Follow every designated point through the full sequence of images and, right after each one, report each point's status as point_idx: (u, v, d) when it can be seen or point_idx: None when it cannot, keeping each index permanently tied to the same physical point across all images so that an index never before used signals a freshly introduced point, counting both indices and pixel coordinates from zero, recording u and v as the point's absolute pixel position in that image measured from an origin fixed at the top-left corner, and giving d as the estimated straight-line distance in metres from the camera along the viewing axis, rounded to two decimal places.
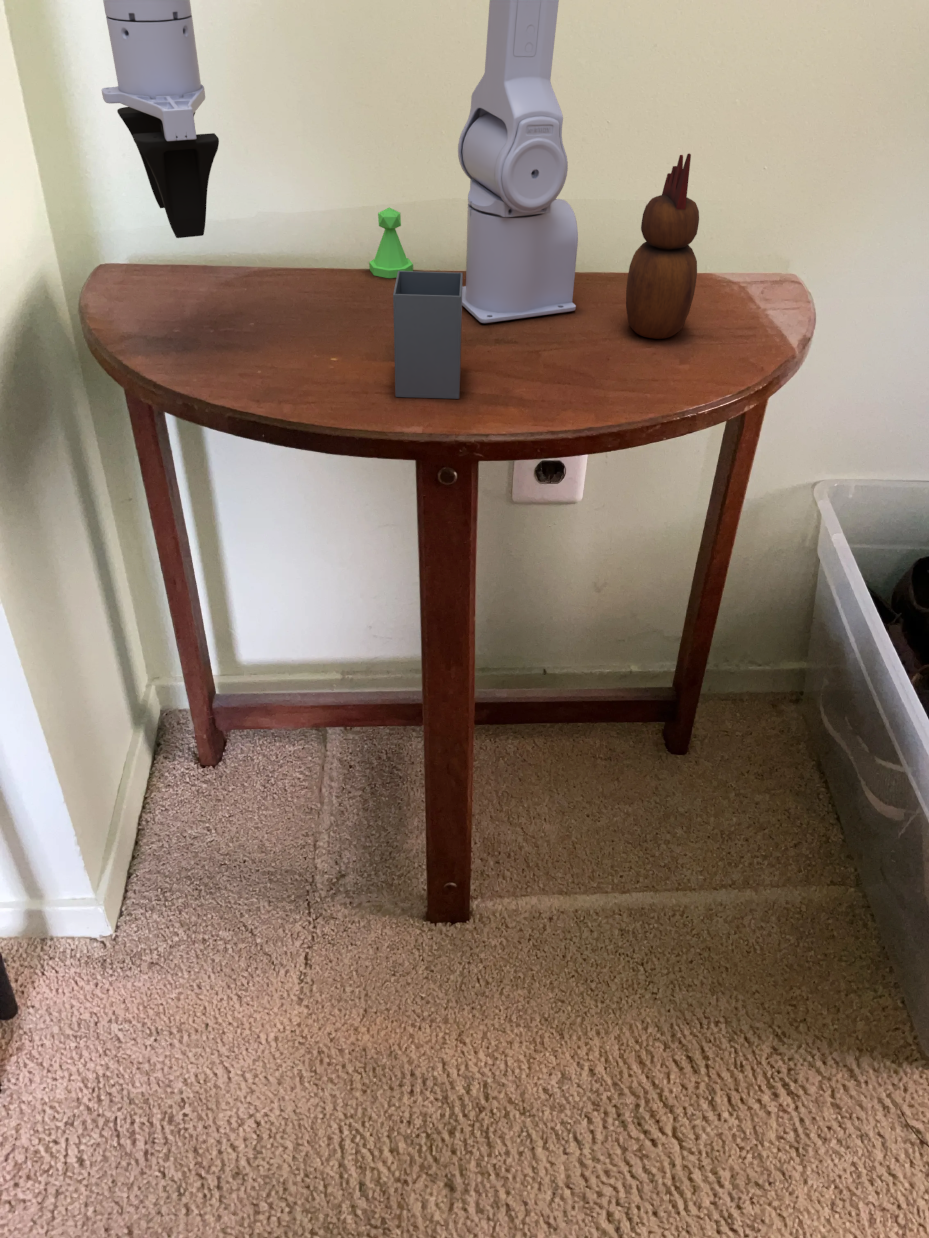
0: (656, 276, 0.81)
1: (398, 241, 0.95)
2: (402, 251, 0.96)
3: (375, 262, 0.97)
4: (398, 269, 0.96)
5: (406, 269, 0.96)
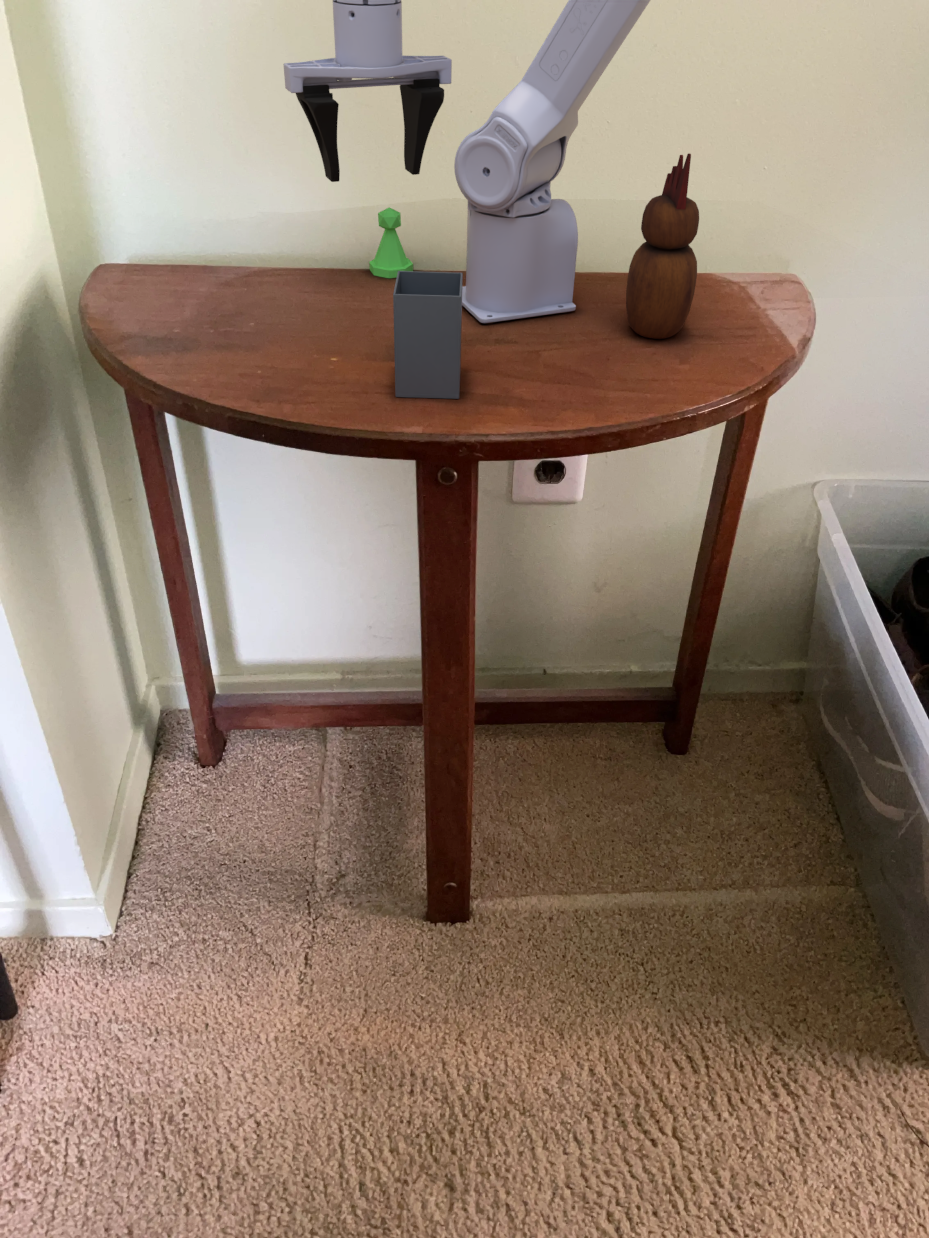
0: (656, 276, 0.81)
1: (398, 241, 0.95)
2: (402, 251, 0.96)
3: (375, 262, 0.97)
4: (398, 269, 0.96)
5: (406, 269, 0.96)
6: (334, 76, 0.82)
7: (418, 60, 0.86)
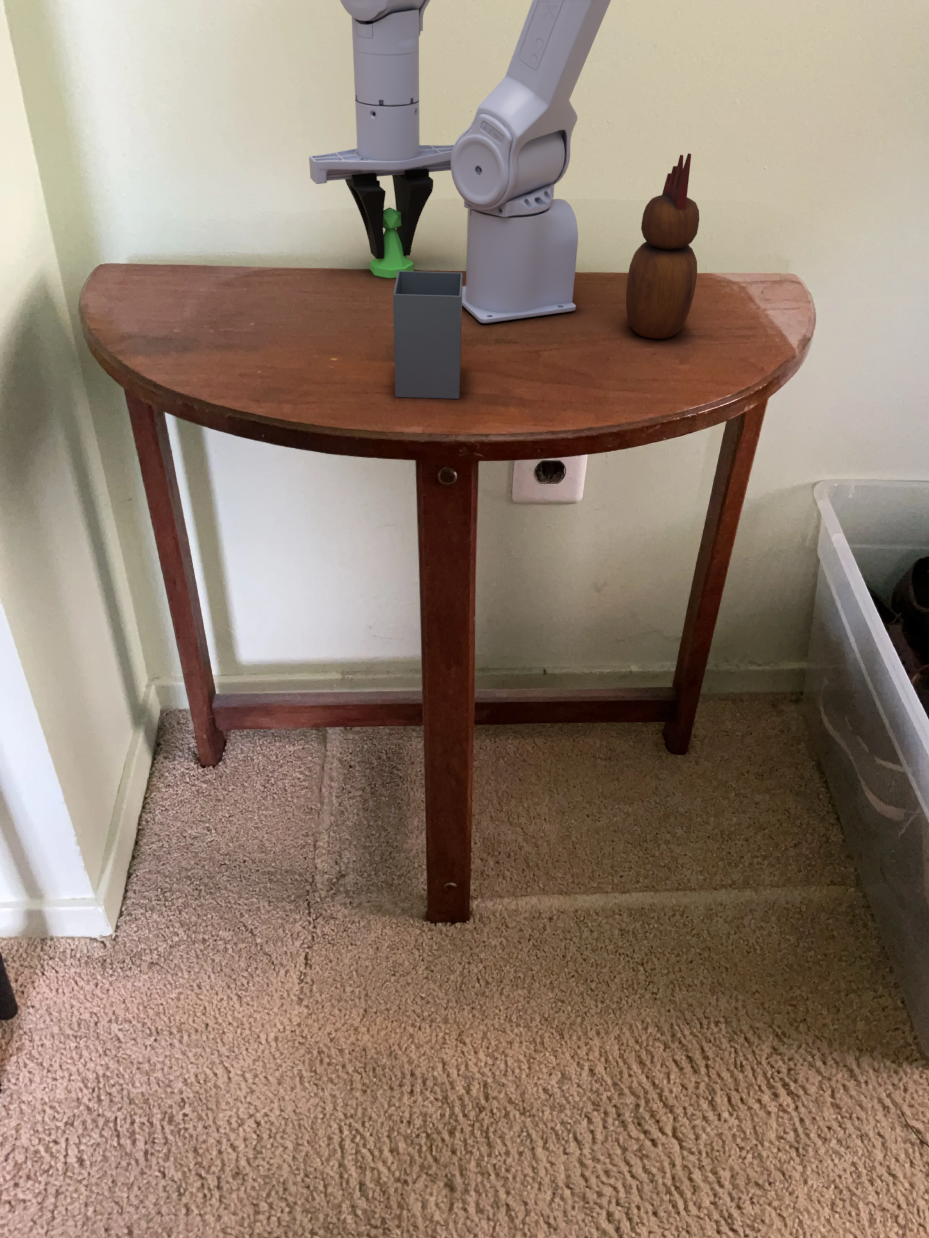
0: (656, 276, 0.81)
1: (398, 241, 0.95)
2: (402, 251, 0.96)
3: (376, 262, 0.97)
4: (399, 269, 0.96)
5: (407, 269, 0.96)
6: (356, 169, 0.89)
7: (434, 150, 0.92)
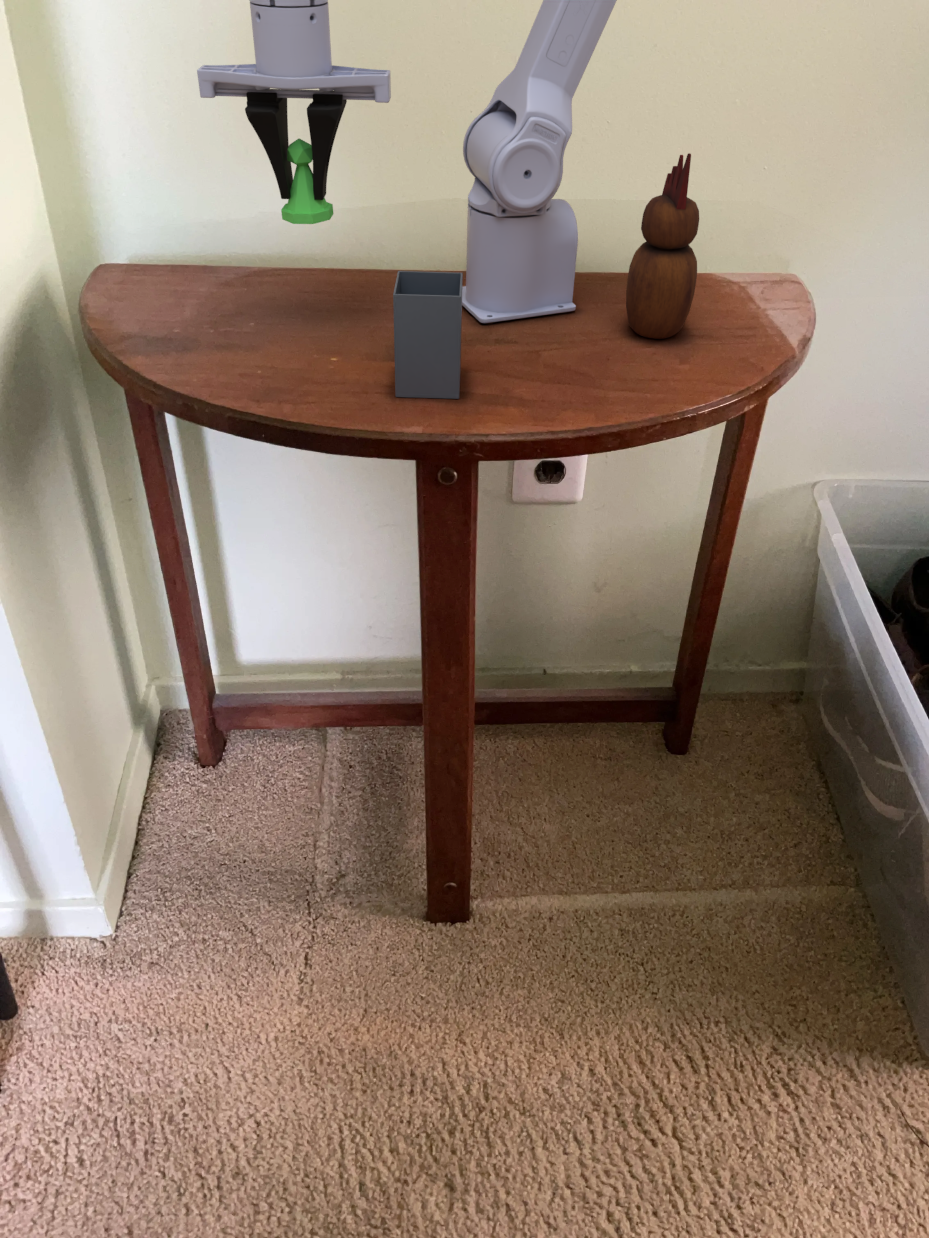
0: (656, 276, 0.81)
1: (310, 181, 0.80)
2: None
3: None
4: (304, 214, 0.80)
5: (315, 215, 0.80)
6: (242, 83, 0.74)
7: (352, 73, 0.75)
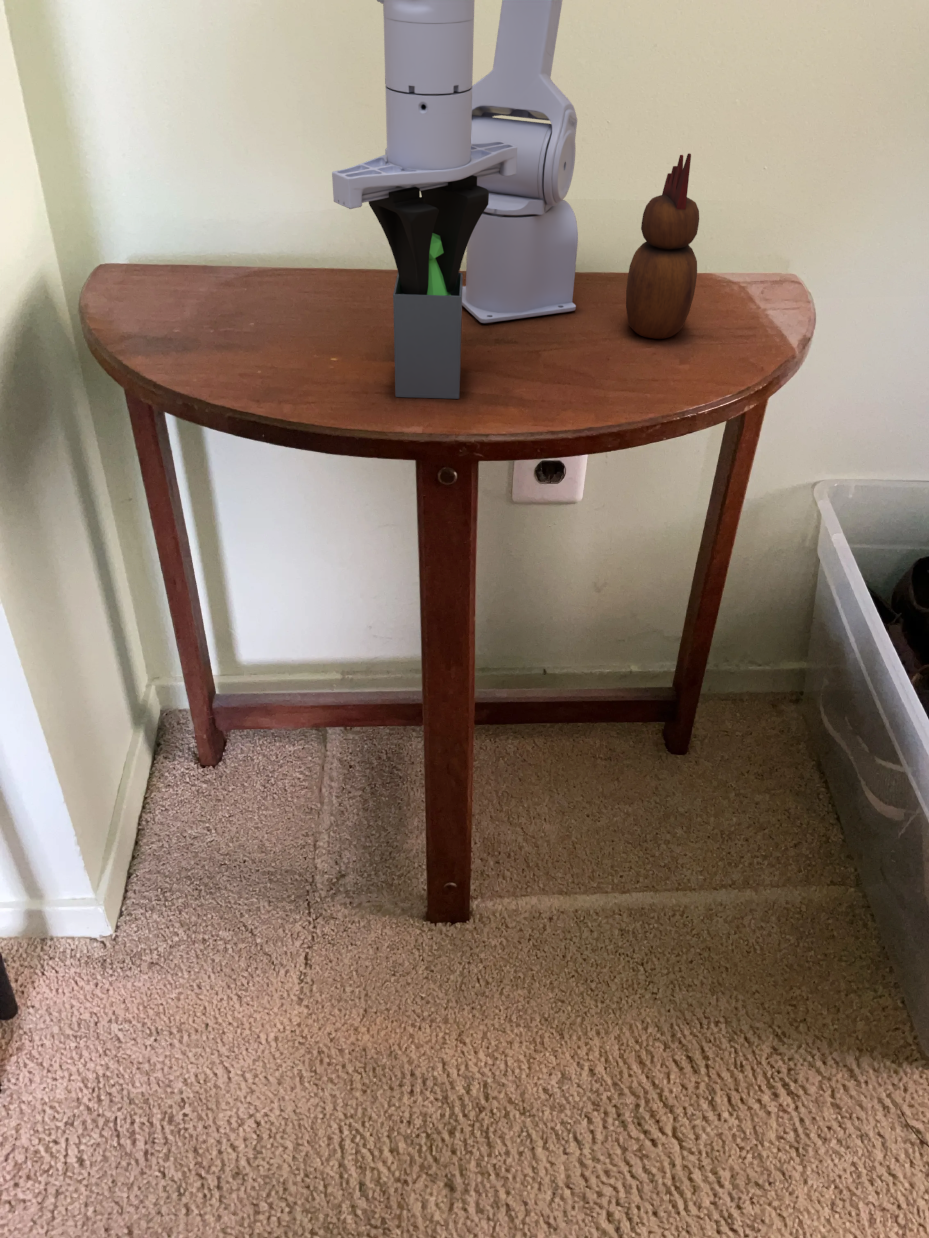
0: (656, 276, 0.81)
1: (440, 273, 0.72)
2: (445, 286, 0.73)
3: None
4: None
5: None
6: (401, 183, 0.65)
7: (480, 151, 0.70)
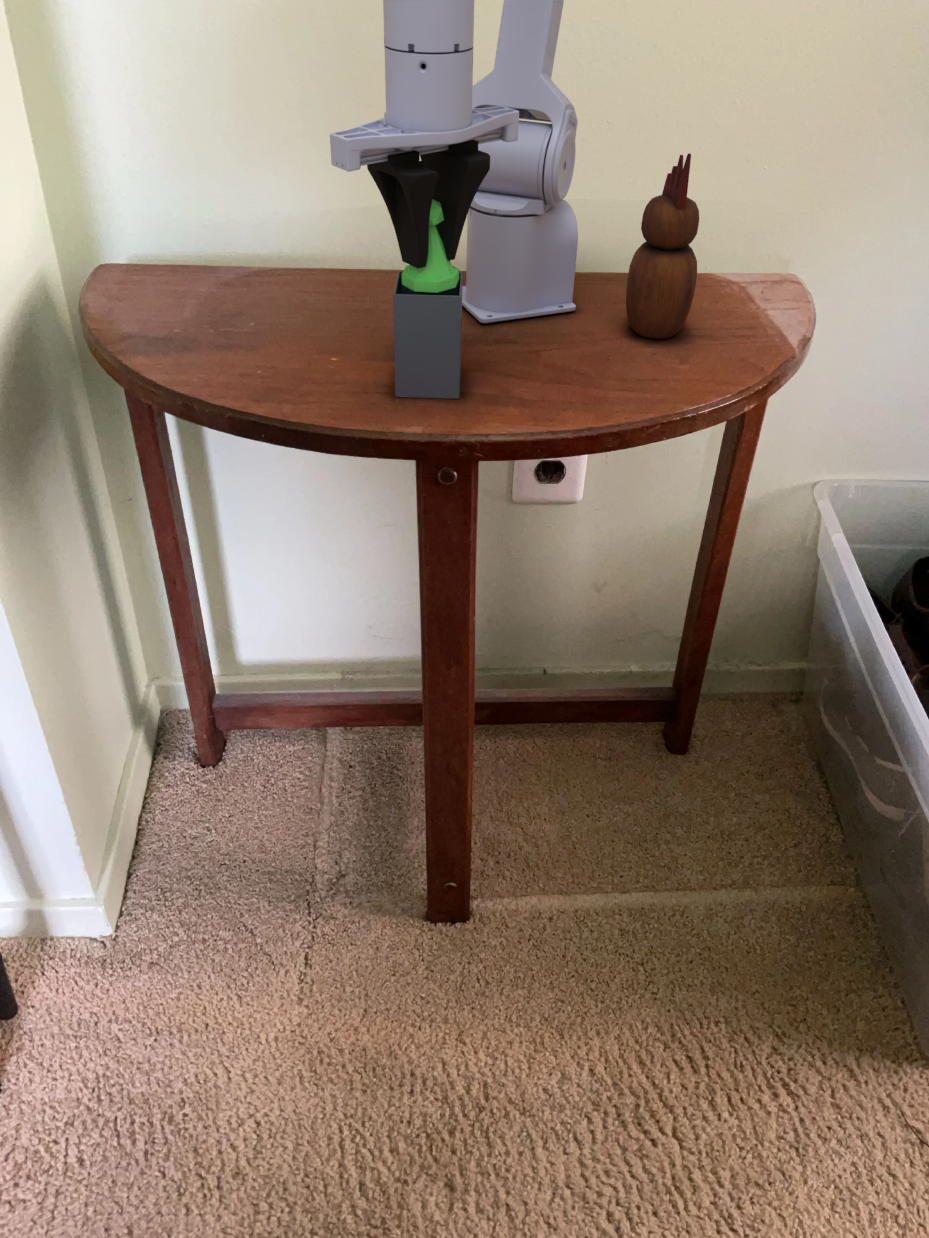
0: (656, 276, 0.81)
1: (440, 241, 0.71)
2: None
3: (412, 273, 0.72)
4: (447, 278, 0.71)
5: (456, 277, 0.72)
6: (401, 145, 0.63)
7: (481, 115, 0.68)
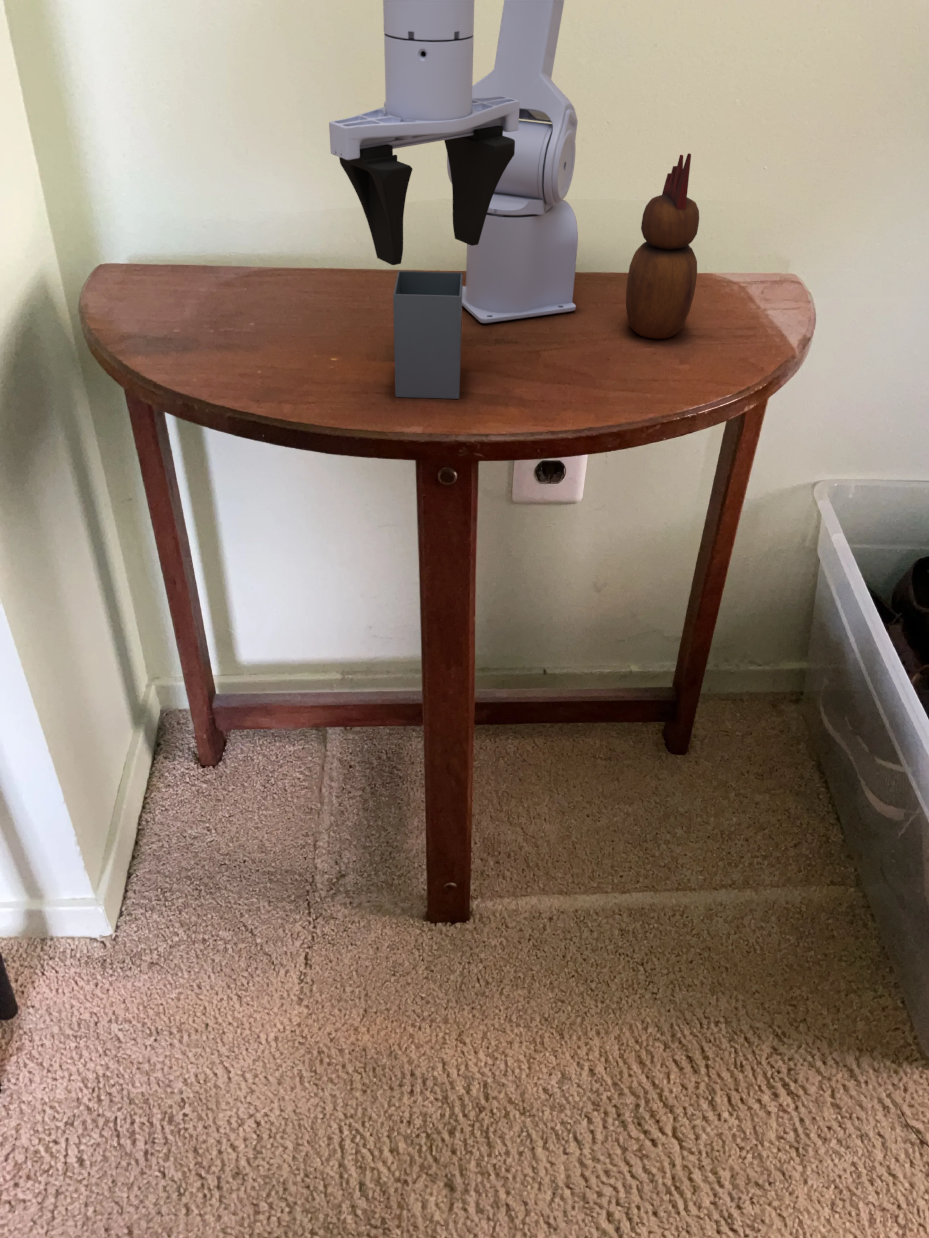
0: (656, 276, 0.81)
1: None
2: None
3: None
4: None
5: None
6: (400, 134, 0.63)
7: (482, 104, 0.68)
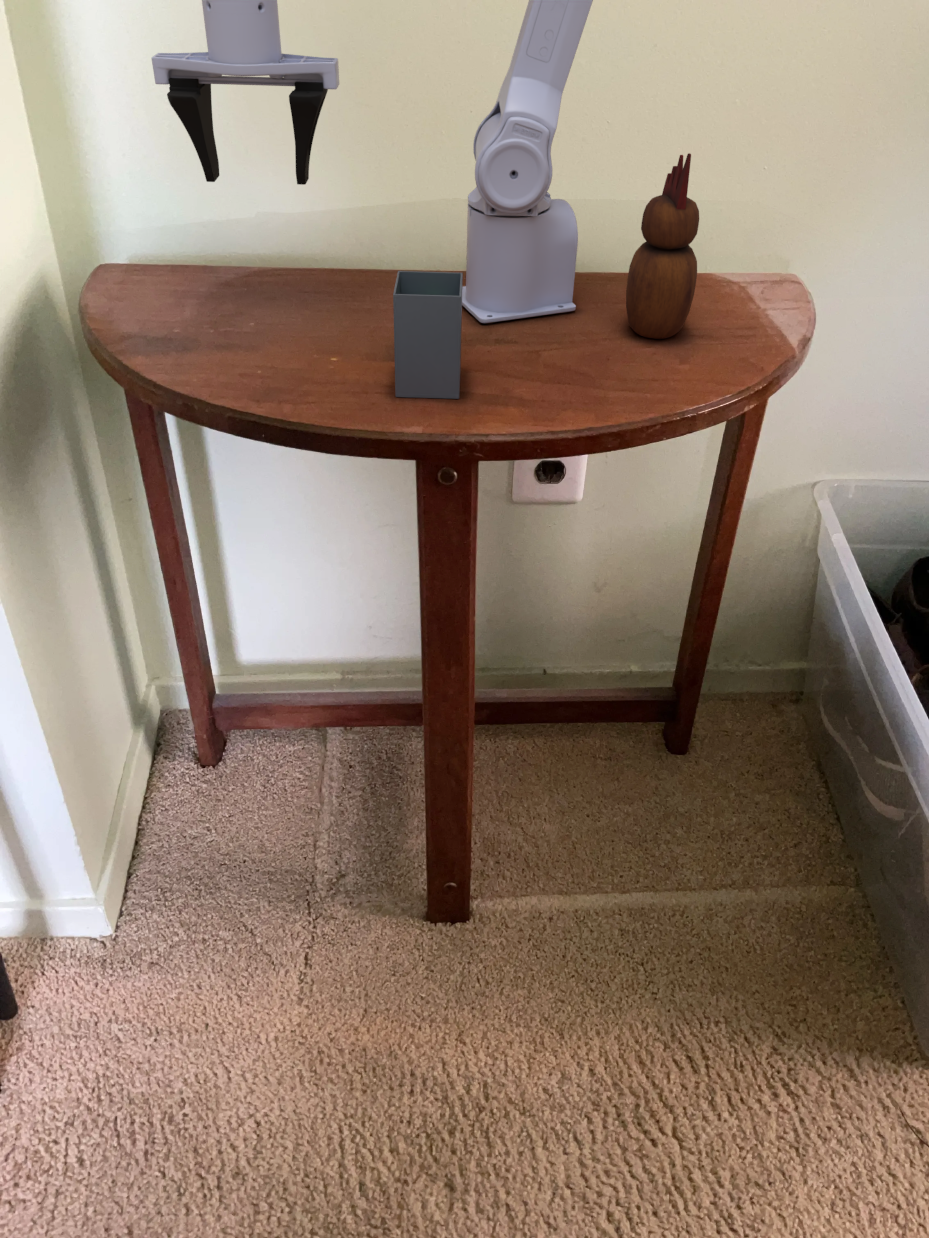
0: (656, 276, 0.81)
1: None
2: None
3: None
4: None
5: None
6: (194, 70, 0.77)
7: (300, 61, 0.78)
